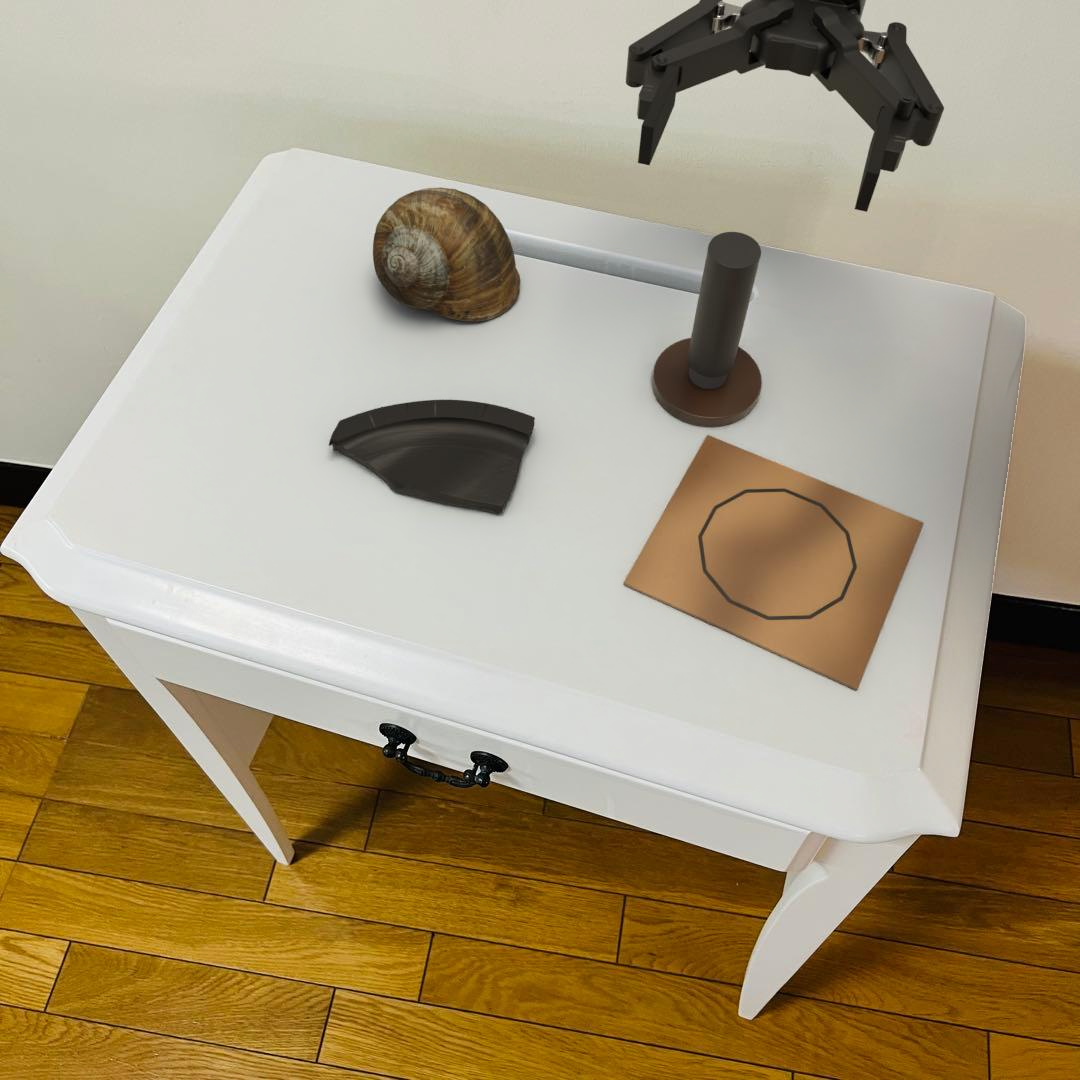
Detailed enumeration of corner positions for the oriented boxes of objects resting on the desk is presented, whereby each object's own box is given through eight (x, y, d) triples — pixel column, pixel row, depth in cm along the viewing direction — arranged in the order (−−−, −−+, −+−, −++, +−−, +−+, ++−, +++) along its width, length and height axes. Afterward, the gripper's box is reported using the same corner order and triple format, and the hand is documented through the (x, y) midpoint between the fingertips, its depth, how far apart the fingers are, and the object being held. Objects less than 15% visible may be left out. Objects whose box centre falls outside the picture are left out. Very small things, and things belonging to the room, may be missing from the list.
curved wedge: (362, 388, 77) (359, 373, 76) (538, 428, 76) (538, 414, 74) (319, 474, 73) (315, 460, 72) (504, 520, 71) (504, 506, 70)
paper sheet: (922, 524, 71) (924, 521, 71) (856, 690, 65) (858, 688, 64) (706, 437, 75) (707, 433, 75) (623, 584, 69) (623, 582, 68)
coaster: (775, 368, 79) (777, 359, 78) (735, 442, 75) (737, 433, 74) (678, 331, 81) (679, 322, 80) (634, 401, 77) (635, 392, 76)
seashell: (358, 311, 82) (343, 230, 75) (406, 234, 86) (396, 152, 80) (493, 347, 80) (490, 268, 73) (534, 267, 84) (535, 185, 78)
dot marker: (737, 368, 78) (769, 242, 67) (719, 398, 76) (749, 274, 66) (695, 351, 78) (720, 225, 68) (677, 382, 77) (700, 256, 67)
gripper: (974, 68, 75) (942, 261, 64) (640, 5, 79) (556, 177, 68) (1014, -37, 69) (987, 158, 58) (649, -100, 73) (559, 72, 62)
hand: (754, 169), depth 63 cm, fingers open, 13 cm apart
